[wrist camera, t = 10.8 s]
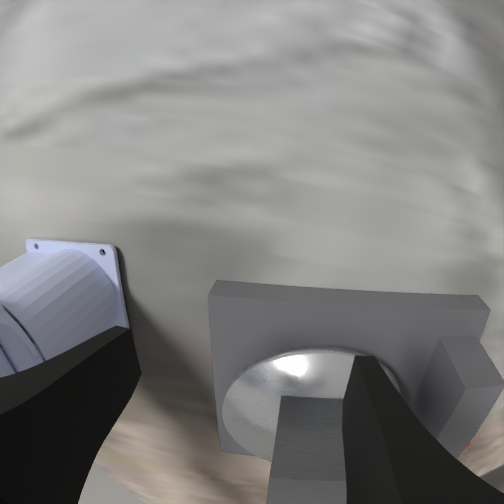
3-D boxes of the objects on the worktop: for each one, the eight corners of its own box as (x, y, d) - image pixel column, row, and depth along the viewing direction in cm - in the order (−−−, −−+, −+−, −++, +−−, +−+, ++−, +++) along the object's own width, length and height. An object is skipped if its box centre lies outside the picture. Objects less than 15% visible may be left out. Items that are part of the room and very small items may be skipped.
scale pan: (227, 451, 22) (225, 458, 22) (220, 336, 18) (217, 344, 17) (374, 459, 21) (375, 467, 20) (423, 347, 16) (427, 356, 16)
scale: (225, 434, 26) (206, 496, 20) (216, 280, 20) (178, 345, 14) (414, 441, 24) (426, 500, 17) (478, 295, 18) (526, 354, 11)
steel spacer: (276, 437, 20) (265, 509, 14) (281, 395, 18) (269, 477, 12) (340, 440, 19) (342, 512, 13) (354, 398, 17) (361, 480, 12)
